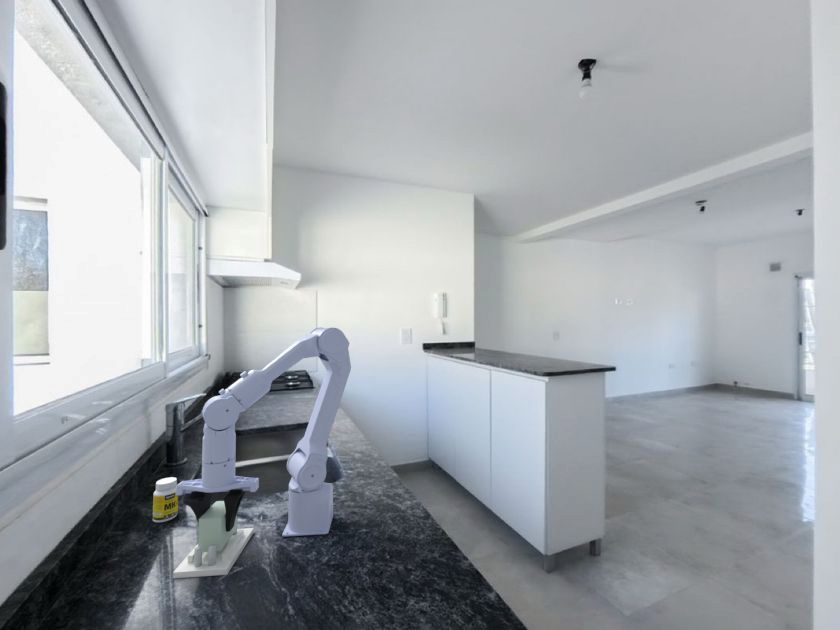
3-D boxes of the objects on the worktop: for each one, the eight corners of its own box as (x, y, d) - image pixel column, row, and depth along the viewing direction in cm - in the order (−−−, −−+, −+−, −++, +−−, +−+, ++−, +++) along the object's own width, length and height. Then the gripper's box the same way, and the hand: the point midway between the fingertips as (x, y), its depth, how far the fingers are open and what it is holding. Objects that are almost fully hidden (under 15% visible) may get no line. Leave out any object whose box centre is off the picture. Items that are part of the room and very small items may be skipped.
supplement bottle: (164, 524, 79) (165, 486, 80) (147, 522, 80) (148, 484, 81) (182, 513, 84) (183, 477, 84) (166, 511, 85) (167, 475, 85)
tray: (253, 532, 76) (253, 513, 76) (226, 574, 63) (227, 551, 63) (209, 535, 75) (209, 515, 75) (172, 578, 62) (173, 554, 62)
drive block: (236, 530, 73) (236, 500, 73) (220, 551, 66) (221, 518, 66) (215, 531, 73) (216, 501, 73) (197, 552, 66) (198, 519, 66)
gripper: (264, 450, 74) (263, 516, 74) (190, 452, 73) (189, 520, 72) (252, 463, 67) (250, 536, 67) (170, 466, 66) (168, 541, 65)
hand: (217, 529), depth 69 cm, fingers closed on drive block, 4 cm apart
